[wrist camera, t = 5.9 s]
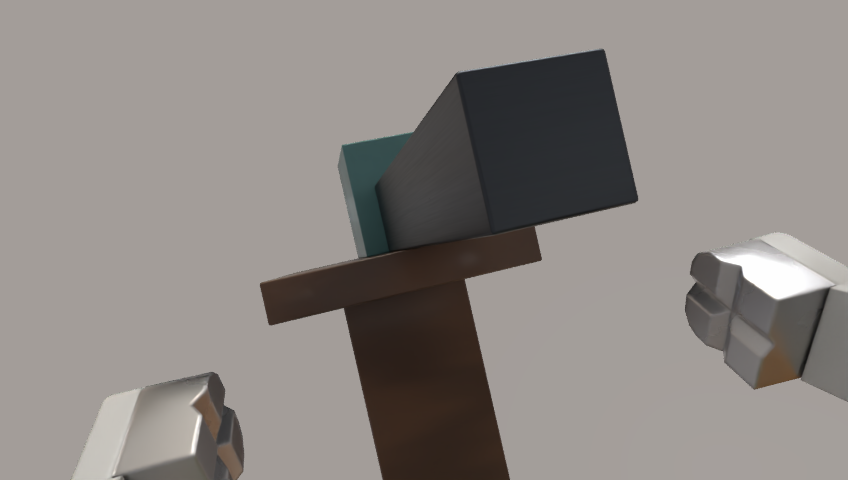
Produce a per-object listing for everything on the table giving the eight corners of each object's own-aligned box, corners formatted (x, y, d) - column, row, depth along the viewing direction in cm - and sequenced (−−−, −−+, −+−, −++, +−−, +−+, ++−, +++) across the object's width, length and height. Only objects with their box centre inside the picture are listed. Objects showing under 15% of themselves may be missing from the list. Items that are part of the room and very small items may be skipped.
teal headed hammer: (439, 248, 9) (376, -34, 9) (358, 258, 28) (337, 165, 28) (686, 191, 10) (628, -62, 10) (448, 237, 29) (428, 148, 29)
